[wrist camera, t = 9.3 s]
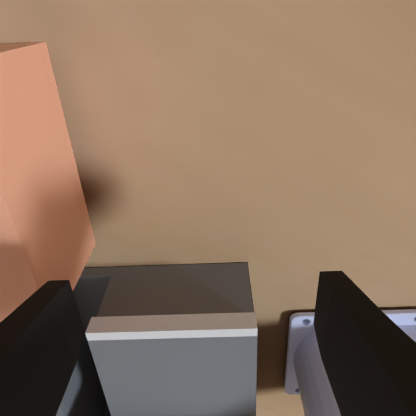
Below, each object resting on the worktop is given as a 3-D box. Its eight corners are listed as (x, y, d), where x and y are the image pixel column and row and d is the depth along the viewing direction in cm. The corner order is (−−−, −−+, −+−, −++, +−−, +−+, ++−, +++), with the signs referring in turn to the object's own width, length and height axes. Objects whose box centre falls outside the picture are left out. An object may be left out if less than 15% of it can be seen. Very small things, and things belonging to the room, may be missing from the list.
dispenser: (247, 255, 21) (269, 414, 13) (247, 397, 28) (261, 562, 20) (-60, 266, 22) (-222, 424, 14) (12, 402, 29) (-69, 563, 21)
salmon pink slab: (45, 42, 15) (-47, 63, 10) (95, 243, 20) (53, 331, 14) (-3, 44, 15) (-121, 67, 10) (59, 245, 20) (4, 332, 15)
